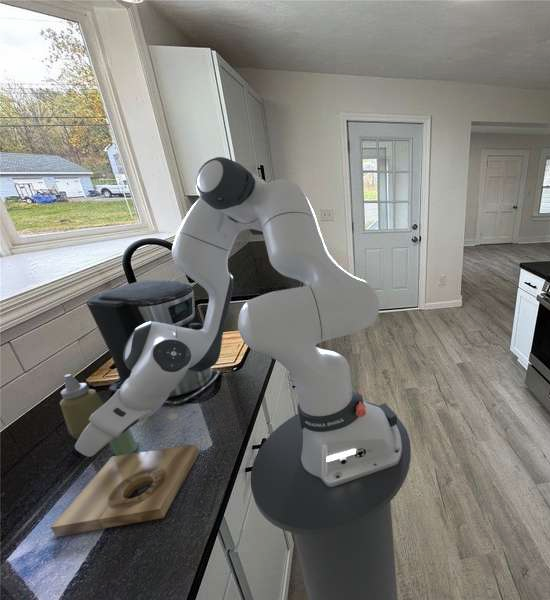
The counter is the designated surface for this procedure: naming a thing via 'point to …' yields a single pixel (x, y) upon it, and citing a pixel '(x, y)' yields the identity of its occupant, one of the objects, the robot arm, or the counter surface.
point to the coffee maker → (143, 308)
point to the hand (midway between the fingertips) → (116, 430)
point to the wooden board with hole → (128, 490)
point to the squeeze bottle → (78, 405)
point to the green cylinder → (124, 443)
